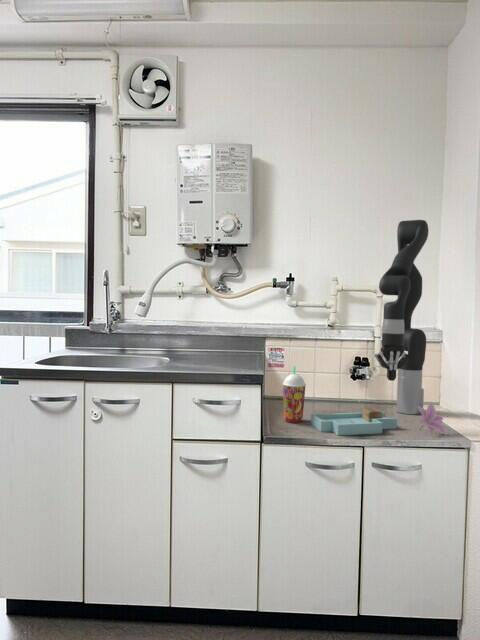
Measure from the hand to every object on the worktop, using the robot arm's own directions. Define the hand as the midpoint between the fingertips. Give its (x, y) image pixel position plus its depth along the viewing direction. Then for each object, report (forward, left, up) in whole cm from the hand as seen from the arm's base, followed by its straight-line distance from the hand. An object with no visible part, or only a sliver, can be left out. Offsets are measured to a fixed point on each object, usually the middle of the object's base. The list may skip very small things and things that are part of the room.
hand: (391, 380), depth 187 cm
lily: (-8, +12, -16) cm, 22 cm away
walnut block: (+7, 0, -14) cm, 16 cm away
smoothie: (+33, -10, -16) cm, 38 cm away
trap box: (+14, +2, -16) cm, 21 cm away
